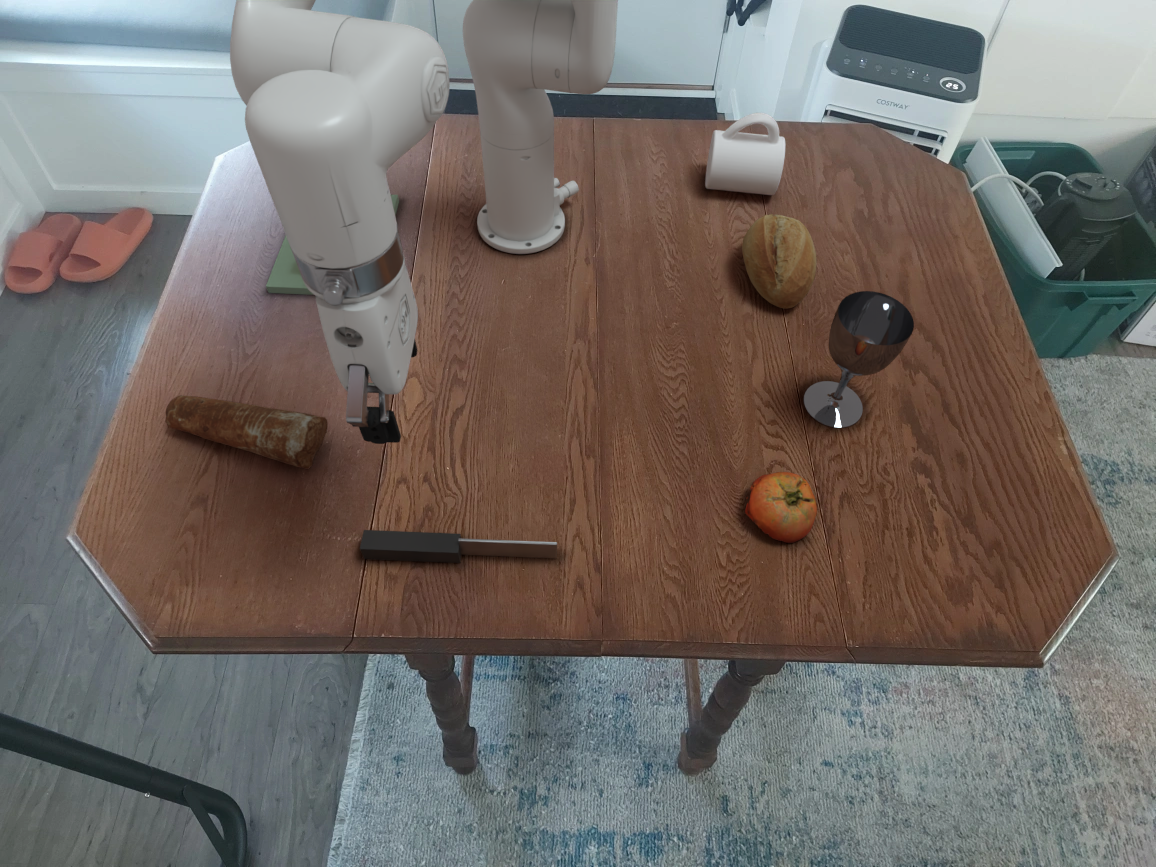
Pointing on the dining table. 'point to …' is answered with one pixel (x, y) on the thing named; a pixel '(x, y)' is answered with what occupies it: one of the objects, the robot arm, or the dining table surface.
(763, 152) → the mug
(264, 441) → the bread
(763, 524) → the tomato
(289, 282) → the butter board
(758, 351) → the dining table surface
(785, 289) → the bread roll
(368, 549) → the knife
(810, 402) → the wine glass
